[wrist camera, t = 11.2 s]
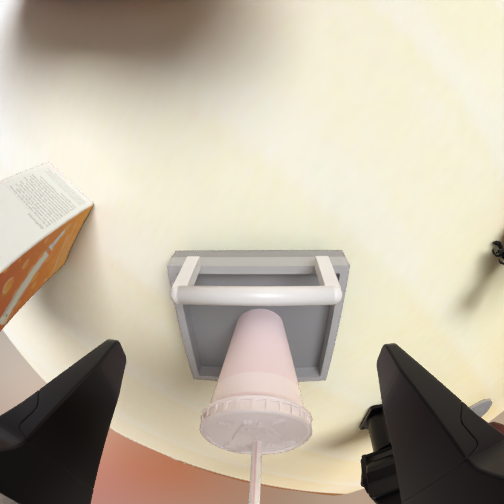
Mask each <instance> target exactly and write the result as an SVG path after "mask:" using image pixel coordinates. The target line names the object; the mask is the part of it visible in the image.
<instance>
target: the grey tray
mask: <svg viewBox="0 0 504 504" xmlns="http://www.w3.org/2000/svg"><path fill="white" fill-rule="evenodd" d="M349 268H350V264H349V263H348V261H347V259H346V257H345V255H344V253H343V251H342V250H229V251H175V253H174V255H173V256H172V258H171V260H170V261H169V263H168V265H167V269H168V274H169V279H170V284H171V289H172V290H171V294H170V296H171V299H172V300H173V302H174V303H175V308H176V312H177V316H178V321H179V325H180V329H181V333H182V337H183V341H184V345H185V349H186V353H187V357H188V360H189V364H190V368H191V371H192V375H193V378H194V379H200V380H215V381H218V379H219V376H220V373H221V370H222V367H223V364H224V361H225V358H226V355H227V352H228V349H229V345H230V342H231V339H232V336H233V333H234V330H235V327H236V324H237V321H238V319H239V317H240V316H241V315H242V314H244V313H245V312H247V311H249V310H253V309H267V310H270V311H273V312H275V313H276V314H277V315H279V316H280V318H281V319H282V321H283V324H284V328H285V332H286V336H287V340H288V344H289V348H290V352H291V356H292V360H293V364H294V368H295V372H296V376H297V380H298V382H300V381H320V380H326V377H327V374H328V370H329V366H330V362H331V358H332V354H333V349H334V345H335V341H336V336H337V332H338V327H339V322H340V318H341V313H342V308H343V302H344V297H345V292H346V286H347V280H348V274H349Z"/></svg>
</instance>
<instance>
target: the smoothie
mask: <svg viewBox="0 0 504 504" xmlns="http://www.w3.org/2000/svg"><path fill="white" fill-rule="evenodd" d="M311 423H312V416H311V413H310V412H309V411H308V410H307V409H306V408H305V407H304V405H303V401H302V396H301V392H300V388H299V384H298V380H297V376H296V372H295V368H294V364H293V360H292V356H291V352H290V348H289V344H288V340H287V336H286V332H285V328H284V324H283V321H282V319H281V318H280V316H279V315H277V314H276V313H275V312H273V311H270V310H267V309H253V310H249V311H247V312H245V313H244V314H242V315H241V316H240V317H239V319H238V321H237V324H236V327H235V330H234V333H233V336H232V339H231V342H230V345H229V349H228V352H227V355H226V358H225V361H224V364H223V367H222V370H221V373H220V376H219V379H218V382H217V385H216V388H215V390H214V393H213V397H212V400H211V403H210V404H208V405H207V406H206V407H205V408H204V409H203V410H202V413H201V424H200V432H201V434H202V435H203V437H204V438H205V439H206V440H207V441H209V442H210V443H212V444H213V445H215V446H217V447H219V448H222V449H225V450H228V451H232V452H236V453H242V454H252V456H251V474H250V491H249V504H260V485H261V458H262V455H266V454H275V453H281V452H285V451H289V450H292V449H294V448H297V447H299V446H300V445H302V444H304V443H305V442H306V441H307V440H308V439H309V438H310V437H311V435H312V425H311Z"/></svg>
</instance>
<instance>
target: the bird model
mask: <svg viewBox="0 0 504 504" xmlns="http://www.w3.org/2000/svg"><path fill="white" fill-rule="evenodd" d="M493 243H494V244H495V245H497V246H498V247H499V249H498V250H497V251H496V254H495V252H494V250H492V252H493V254H494V255H495V256H496V257H501V258H503V259H504V249H503V246H502V244H501V242H499V241H494V242H493ZM497 253H500V254H499V255H497ZM499 262H500V264H503V265H504V263H503V262H501V261H500V259H499Z"/></svg>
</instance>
